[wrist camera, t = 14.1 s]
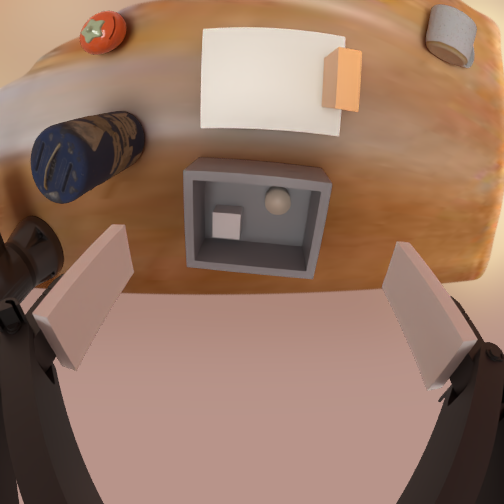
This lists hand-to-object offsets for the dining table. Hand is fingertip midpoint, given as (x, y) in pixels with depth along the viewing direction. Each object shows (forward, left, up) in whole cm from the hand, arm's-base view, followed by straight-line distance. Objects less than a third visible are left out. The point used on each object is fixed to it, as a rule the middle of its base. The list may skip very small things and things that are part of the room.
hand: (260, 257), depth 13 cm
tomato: (-25, +19, -30) cm, 43 cm away
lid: (0, +10, -30) cm, 31 cm away
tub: (-1, -9, -29) cm, 31 cm away
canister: (-23, +1, -30) cm, 38 cm away
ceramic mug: (+26, +24, -30) cm, 47 cm away
